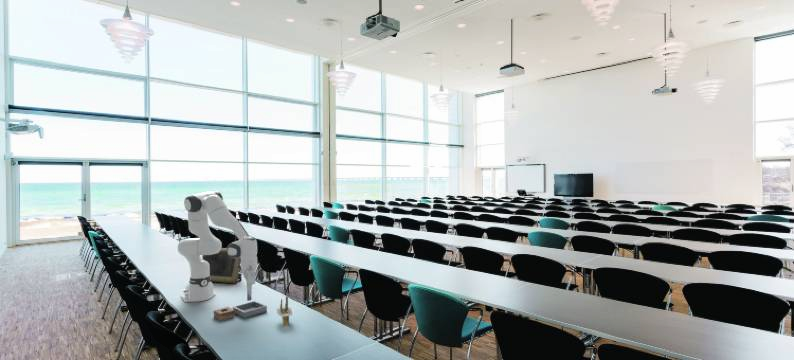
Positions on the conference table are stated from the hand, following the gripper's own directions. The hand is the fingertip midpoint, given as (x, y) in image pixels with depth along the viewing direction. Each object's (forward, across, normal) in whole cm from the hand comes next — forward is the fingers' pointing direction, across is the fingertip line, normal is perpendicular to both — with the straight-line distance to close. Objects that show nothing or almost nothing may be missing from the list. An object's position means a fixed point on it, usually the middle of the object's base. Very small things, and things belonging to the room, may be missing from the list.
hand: (249, 288), depth 218 cm
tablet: (+14, +80, +9) cm, 82 cm away
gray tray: (+14, 0, 0) cm, 14 cm away
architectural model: (+15, -26, -14) cm, 33 cm away
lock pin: (+7, 0, 0) cm, 7 cm away
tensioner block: (+14, 0, +13) cm, 19 cm away
